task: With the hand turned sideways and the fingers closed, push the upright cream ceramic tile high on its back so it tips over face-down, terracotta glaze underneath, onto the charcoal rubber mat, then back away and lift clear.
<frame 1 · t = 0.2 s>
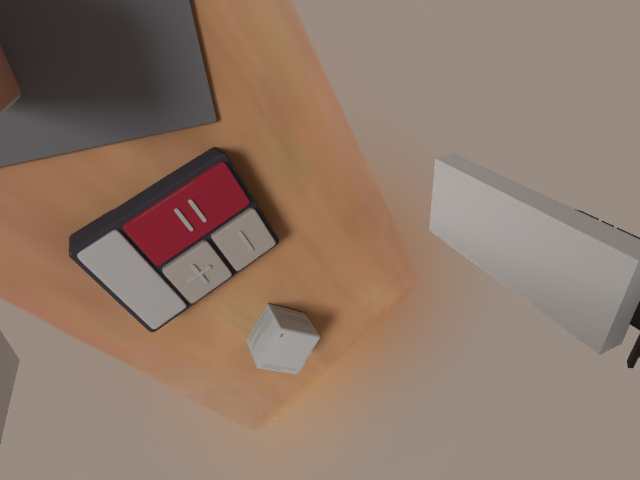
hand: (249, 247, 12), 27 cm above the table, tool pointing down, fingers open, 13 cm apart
tile mat: (40, 20, 29), on the table
small box: (274, 325, 50), on the table
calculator: (179, 232, 40), on the table
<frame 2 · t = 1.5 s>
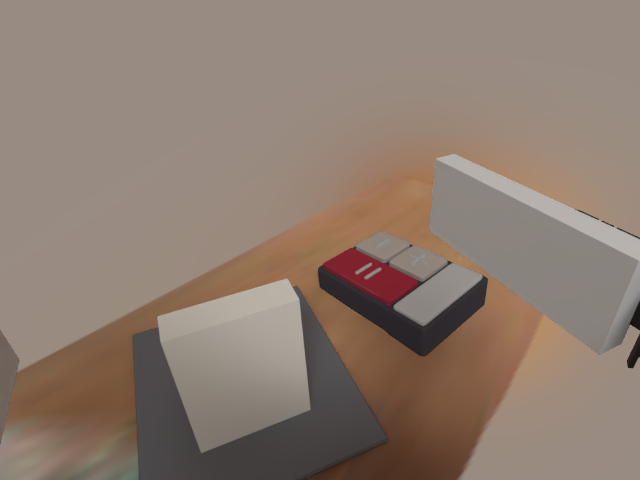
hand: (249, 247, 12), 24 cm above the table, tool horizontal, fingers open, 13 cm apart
tile mat: (242, 382, 38), on the table
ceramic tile: (254, 417, 34), resting on tile mat
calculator: (397, 297, 47), on the table
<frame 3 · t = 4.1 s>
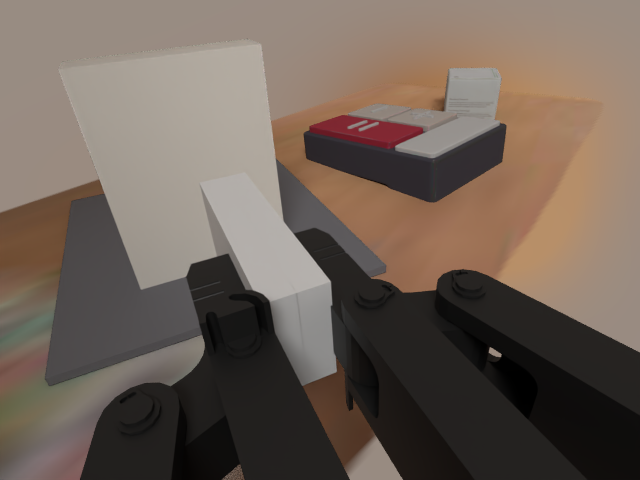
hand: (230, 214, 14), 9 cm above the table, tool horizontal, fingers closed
tile mat: (202, 233, 30), on the table
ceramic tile: (213, 257, 26), resting on tile mat
small box: (467, 116, 50), on the table
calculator: (398, 165, 40), on the table
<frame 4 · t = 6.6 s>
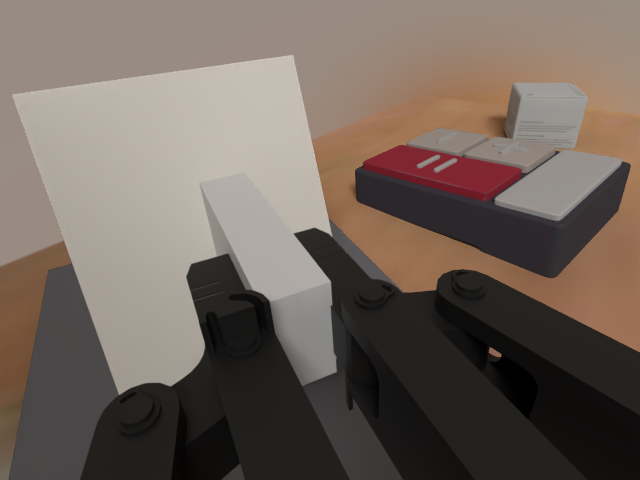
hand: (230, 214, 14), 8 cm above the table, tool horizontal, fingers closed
tile mat: (229, 330, 21), on the table
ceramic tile: (249, 377, 17), point 1 cm above the table, tilted 22°, touching tile mat
small box: (536, 141, 41), on the table
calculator: (477, 210, 31), on the table
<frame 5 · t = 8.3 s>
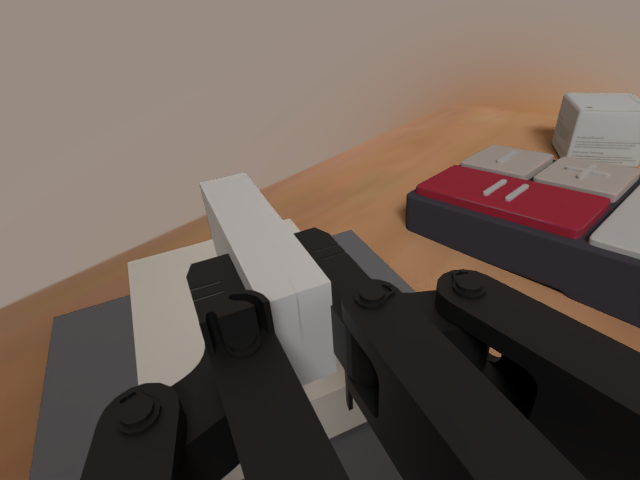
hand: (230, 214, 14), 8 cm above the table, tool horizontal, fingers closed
tile mat: (274, 405, 17), on the table
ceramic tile: (293, 433, 14), point 2 cm above the table, tilted 90°, touching tile mat
small box: (590, 157, 38), on the table
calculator: (546, 242, 27), on the table
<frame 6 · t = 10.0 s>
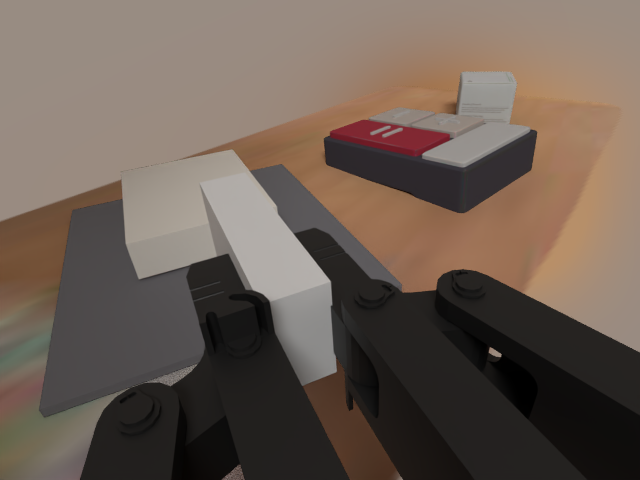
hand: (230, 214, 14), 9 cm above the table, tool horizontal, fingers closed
tile mat: (207, 246, 29), on the table
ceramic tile: (209, 241, 26), point 2 cm above the table, tilted 90°, touching tile mat
small box: (480, 122, 49), on the table
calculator: (422, 171, 39), on the table
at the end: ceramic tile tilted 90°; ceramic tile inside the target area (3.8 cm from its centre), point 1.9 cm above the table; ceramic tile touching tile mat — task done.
